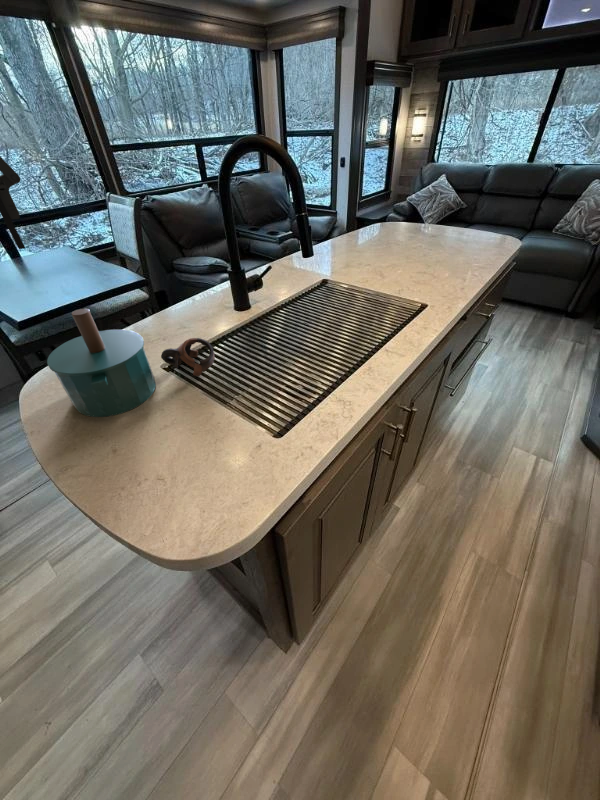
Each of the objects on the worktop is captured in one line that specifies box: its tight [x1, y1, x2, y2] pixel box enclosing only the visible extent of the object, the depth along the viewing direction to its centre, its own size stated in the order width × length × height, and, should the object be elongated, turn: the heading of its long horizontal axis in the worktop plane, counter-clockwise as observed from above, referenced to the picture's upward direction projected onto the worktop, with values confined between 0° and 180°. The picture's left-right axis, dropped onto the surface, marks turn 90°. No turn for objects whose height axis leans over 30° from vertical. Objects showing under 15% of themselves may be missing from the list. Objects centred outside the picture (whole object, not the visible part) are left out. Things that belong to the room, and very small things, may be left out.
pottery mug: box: [160, 337, 216, 377], centre depth 79 cm, size 12×10×8 cm
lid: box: [46, 308, 145, 376], centre depth 65 cm, size 18×18×9 cm
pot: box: [54, 346, 157, 418], centre depth 71 cm, size 17×22×10 cm
